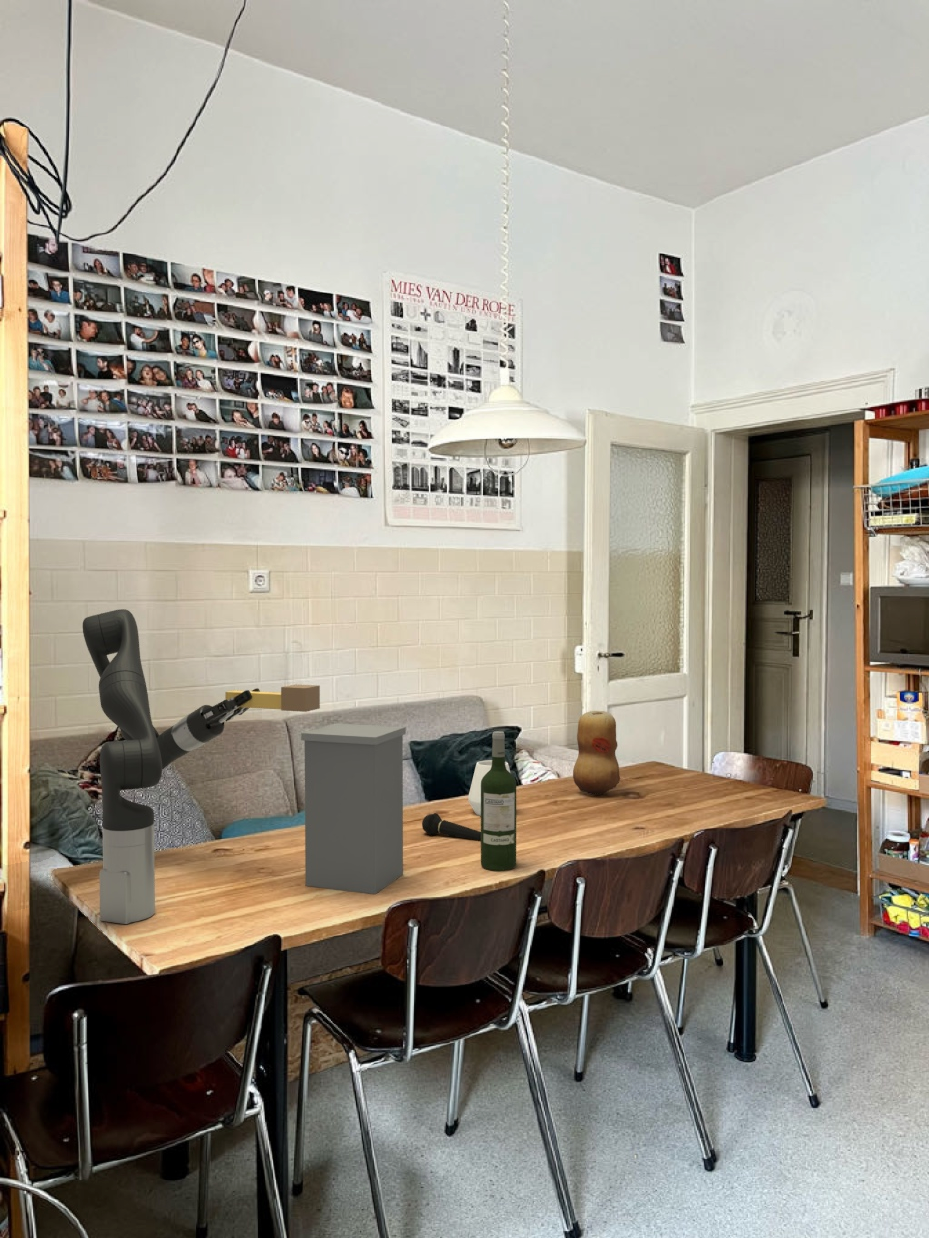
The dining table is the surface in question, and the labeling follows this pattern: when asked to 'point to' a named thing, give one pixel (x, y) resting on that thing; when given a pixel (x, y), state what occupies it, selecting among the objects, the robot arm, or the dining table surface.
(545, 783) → the dining table surface
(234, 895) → the dining table surface
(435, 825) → the microphone
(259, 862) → the dining table surface
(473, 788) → the cup
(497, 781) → the wine bottle
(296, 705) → the peg
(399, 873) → the stand
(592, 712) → the butternut squash
